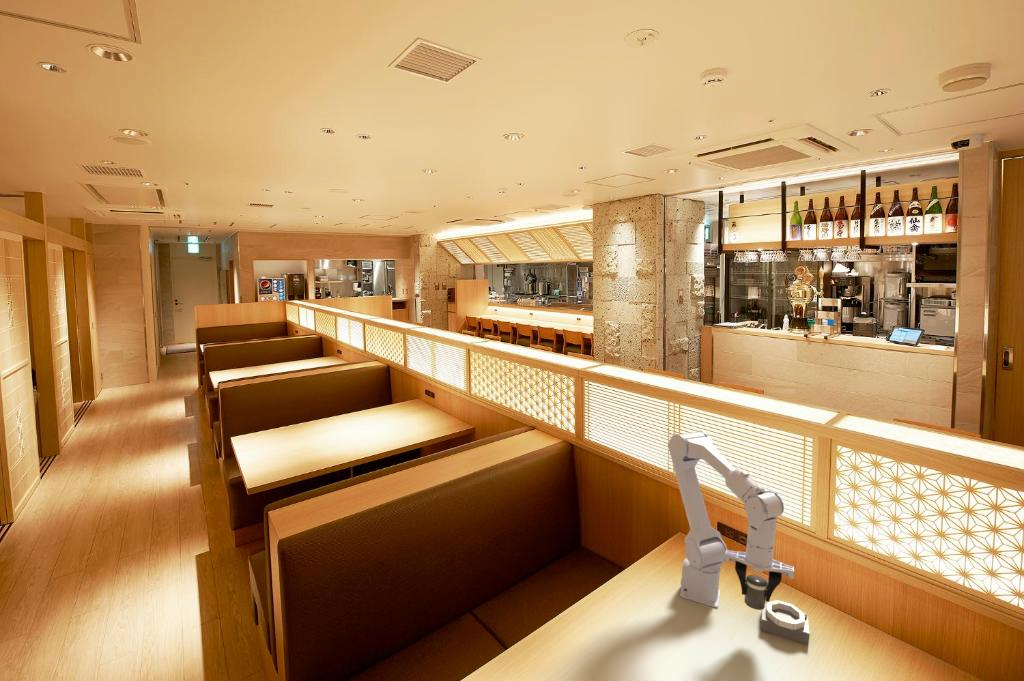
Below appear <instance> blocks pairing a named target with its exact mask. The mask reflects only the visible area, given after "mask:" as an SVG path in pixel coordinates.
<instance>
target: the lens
mask: <svg viewBox="0 0 1024 681" xmlns="http://www.w3.org/2000/svg"><path fill="white" fill-rule="evenodd" d="M767 586H768V580H766V579H765V578H764V577H762V576H760V575H756V574H749V575H746V590H745V595H744V600H743V602H744V603H745V605H746V606H747V607H749V608H751V609H753V610H756V611H757V610H758V611H761V610H762V609H764V608H765V603H766V591H767Z"/></svg>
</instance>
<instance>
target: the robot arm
mask: <svg viewBox="0 0 1024 681" xmlns="http://www.w3.org/2000/svg"><path fill="white" fill-rule="evenodd" d="M713 440H714V439H713V438H712V437H711V436H710V435H708V434H707V432H705V431H703V430H697V431H693V432H686V433H676V434H673V435H672V436H671V437H670V440H669V442H668V443H667V448H668V450H669V454H670V457H671V462H672V466H673V470H674V474H675V477H676V482H677V485H678V489H679V493H680V496H681V499H682V503H683V507H684V511H685V514H686V519H687V521H688V524H689V531H688V533H687V535H686V536H685V537H684V544H685V556H686V558H684V559H683V564H682V569H681V577H680V578H681V579H680V594H679V596H680V598H683V599H686V600H689V601H692V602H696V603H699V604H702V605H706V606H709V607H711V608H715V609H718V608H719V604H720V596H721V590H720V588H719V586H720V576H721V575H720V574H721V567H723V562H733V563H735V564H734V565H735V566H734V569H735V572H736V574H737V577H738V580H739V584H740V587H741V595H743V596H745V590H746V577H747V569H748V566H749V567H750V568H752V570H754V571H755V572H759V573H763V572H768V579H767V583H768V586H767V591H766V600H765V602H767V603H768V602H770V599H771V597H772V595H773V593H774V591H775V589H776V588H777V587H778V586H779V585H780V584H781V582H782V576H786V577H787V578H789V579H792V580H794V576H795V567H794V566H791V565H789V564H786V563H783V562H781V561H778V560H777V559H774V551H775V544H776V543H775V542H776V534H777V522H778V517H780V516H782V515H783V513H784V511H785V510H784V509H785V506H784V502H783V499H782V498H781V497H780V496H779V495H778V493H777V492H775V491H773V490H768V489H766V488H765V487H763V486H762V485H760V484H759V483H758V482H757V481H756V480H755V479H753V477H751V476H750V473H749V472H748V471H747V470H744V469H742V468H739V469H736V468H735V467H734V466H733V465H732V463H730V462H729V461H728V459H727V458H726V457H725V456H724V455H723V454H722V453H721V452H720V450H718V449H717V447H716V446H715V445H714V441H713ZM700 460H703V461H704V462H705V463H706V464H708V465H709V466H710V467H711V468H712V469H714V470H715V471H716V472H717V473H718V474H720V475H721V476H722V477H723V478H724V481H725V485H726V487H727V489H729V490H730V491H731V493H733V494H734V495H735V496H736V497H737V499H738V500H740V501H741V503H743V504H744V506H743V507H744V509H745V512H746V515H747V523H748V527H747V528H748V529H747V538H746V546H745V547H746V548H745V549H746V550H745V551H735V550H730V549H728V547H727V544H726V543H725V542H724V540H723V538H722V534H721V532H720V531H718V530H717V529H715V528H714V527H713V526H712V525H711V521H710V517H709V514H708V510H707V507H706V504H705V500H704V497H703V493H702V491H701V490H702V489H701V486H700V483H699V478H698V476H697V473H696V468H695V467H696V466H697V464H698V462H699V461H700Z"/></svg>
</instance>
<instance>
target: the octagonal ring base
mask: <svg viewBox="0 0 1024 681" xmlns="http://www.w3.org/2000/svg"><path fill="white" fill-rule="evenodd" d="M760 611H761V612H760V632H765V633H768V634H771V635H774V636H778V637H781V638H784V639H786V640H787V639H788V640H790V641H793V642H797V643H800V644H803V645H806V646H809V643H810V626H809V615H808V613H807V612H805V611H802V610H800V609H799V608H798V607H797V606H795V605H794V604H792V603H788V602H785V601H782V600H780V599H779V600H773V601H769V602H767V603H766V602H765V608H764V609H762V610H760Z"/></svg>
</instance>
